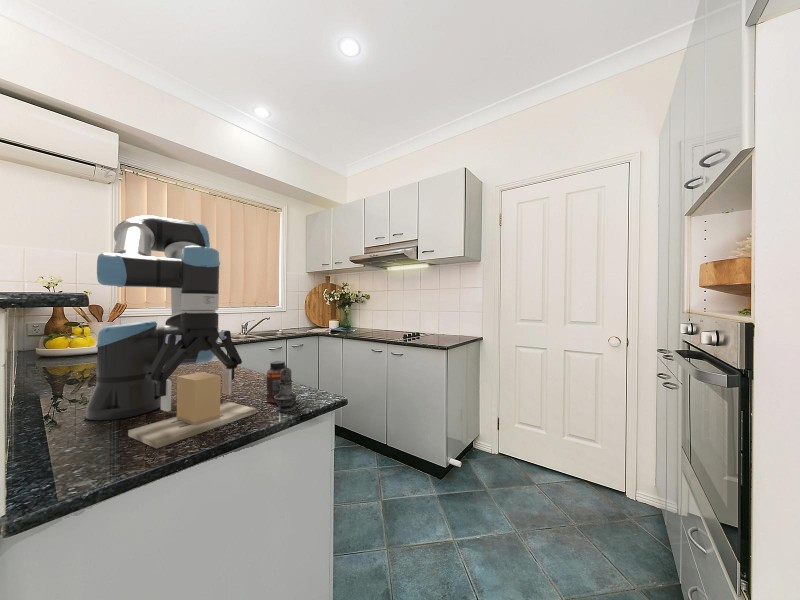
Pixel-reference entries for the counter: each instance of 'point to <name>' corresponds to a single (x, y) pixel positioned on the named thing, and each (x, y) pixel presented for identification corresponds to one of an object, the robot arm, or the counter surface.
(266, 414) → the counter surface
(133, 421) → the counter surface
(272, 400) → the supplement bottle
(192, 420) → the block
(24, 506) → the counter surface
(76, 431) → the counter surface
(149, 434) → the birch board
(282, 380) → the grey chess piece
